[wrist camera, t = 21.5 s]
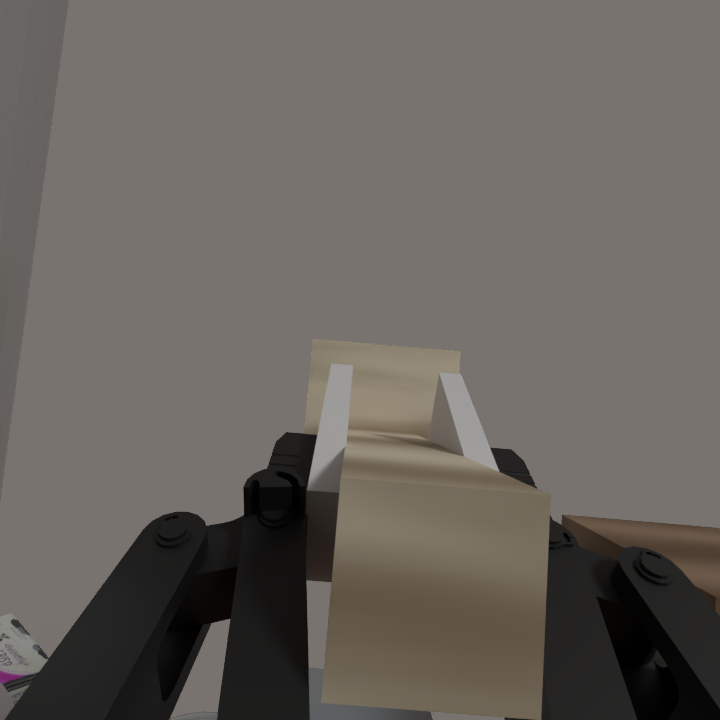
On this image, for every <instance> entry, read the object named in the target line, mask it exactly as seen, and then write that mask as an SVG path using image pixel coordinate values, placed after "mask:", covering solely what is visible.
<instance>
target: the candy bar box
mask: <svg viewBox="0 0 720 720" xmlns="http://www.w3.org/2000/svg"><path fill="white" fill-rule="evenodd" d="M48 659H49V658H48V657H47V655H46V654H45V653H44V652H43V651H42V649H41V648H40V647H39V645H38V644H37V643H36V642H35V641H34V640H33V638H32V637H31V636H30V634H29V633H28V632H27V631H26V630H25V629H24V627H23V626H22V625H21V624H20V623H19V621H18V620H17V619H16V618H15V617H14V615H13V614H12V613H11V614H6V615H2V616H0V683H2V684H3V686H4V687H5V689H6V690H7V692H8V693H9V695H10V697H11V698H12V700H13V703H14V706H15V704H16V703H17V702H18V700H19V699H20V697H21V696H22V695H23V693H24V692H25V691H26V689H27V688H28V686H29V685H30V684H31V682H32V681H33V680H34V678H35V677H36V676H37V674H38V673H39V671H40V670H41V669H42V667H43V666H44V665H45V663H46V662H47V661H48Z"/></svg>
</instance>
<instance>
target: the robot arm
mask: <svg viewBox="0 0 720 720" xmlns="http://www.w3.org/2000/svg"><path fill="white" fill-rule="evenodd" d="M67 8H68V0H0V497H1V490H2V483H3V475H4V468H5V460H6V453H7V446H8V438H9V431H10V424H11V416H12V410H13V402H14V395H15V387H16V380H17V373H18V366H19V358H20V351H21V344H22V336H23V329H24V322H25V315H26V307H27V300H28V293H29V285H30V278H31V270H32V263H33V256H34V249H35V241H36V234H37V227H38V219H39V212H40V205H41V198H42V190H43V183H44V176H45V168H46V161H47V154H48V146H49V138H50V132H51V124H52V117H53V110H54V103H55V95H56V88H57V80H58V73H59V66H60V58H61V52H62V44H63V36H64V29H65V22H66V15H67ZM352 374H353V365H343V364H331V368H330V373H329V378H328V383H327V389H326V394H325V399H324V404H323V409H322V414H321V419H320V425H319V430H318V435H314V434H302V433H288V432H286V433H285V434H284V435H283V436H282V437H281V438H280V439H279V440H277V441H276V443H275V447H274V449H273V452H272V456H271V459H270V462H269V466H268V467H267V469H264V470H261V471H259V472H257V473H254V474H253V475H252V476H251V477H250V478H249V479H247V481H246V483H245V485H244V487H243V488H244V515H243V516H242V517H240V518H238V519H235V520H233V521H230V522H226V523H221V524H215V525H209V526H206V524H205V521H204V520H203V519H202V518H200V517H199V516H198V515H196V514H193V513H190V512H174V513H170V514H166V515H163V516H161V517H159V518H157V519H155V520H153V521H152V522H151V523H150V524H149V525H147V527H145V529H143V531H142V532H141V534H140V535H139V536H138V537H137V539H136V540H135V542H134V543H133V544H132V546H131V547H130V548H129V550H128V551H127V553H126V554H125V555H124V557H123V558H122V559H121V561H120V562H119V563H118V565H117V566H116V568H115V569H114V570H113V572H112V573H111V575H110V576H109V577H108V579H107V580H106V581H105V583H104V584H103V585H102V587H101V588H100V589H99V591H98V592H97V594H96V595H95V596H94V598H93V599H92V600H91V602H90V603H89V605H88V606H87V607H86V609H85V610H84V611H83V613H82V614H81V615H80V617H79V618H78V619H77V621H76V622H75V624H74V625H73V626H72V628H71V629H70V630H69V632H68V633H67V635H66V636H65V637H64V639H63V640H62V642H61V643H60V644H59V646H58V647H57V648H56V650H55V651H54V652H53V654H52V655H51V657H50V658H49V659H48V661H47V662H46V663H45V665H44V666H43V667H42V669H41V670H40V671H39V673H38V674H37V676H36V677H35V678H34V680H33V681H32V682H31V684H30V685H29V686H28V688H27V689H26V691H25V692H24V693H23V695H22V696H21V697H20V699H19V700H18V702H17V703H16V704H15V706H14V703H13V700H12V698H11V697H10V695H9V693H8V692H7V690H6V689H5V687H4V686H3V684H2V683H0V720H169V719H170V717H171V714H172V712H173V710H174V707H175V705H176V703H177V701H178V698H179V696H180V694H181V692H182V689H183V687H184V685H185V682H186V680H187V678H188V675H189V673H190V671H191V669H192V666H193V664H194V662H195V660H196V657H197V655H198V653H199V651H200V648H201V646H202V644H203V641H204V639H205V637H206V635H207V632H208V630H209V628H210V626H211V623H214V622H218V621H222V620H226V619H231V620H230V627H229V634H228V642H227V650H226V656H225V663H224V671H223V679H222V686H221V694H220V700H219V707H218V715H217V720H310V704H309V667H308V627H307V590H306V580H312V581H324V582H332V572H333V560H334V549H335V537H336V526H337V514H338V503H339V491H340V480H341V472H342V465H343V458H344V451H345V447H346V442H347V434H348V422H349V410H350V398H351V386H352ZM428 440H429V441H431V442H433V443H435V444H438V445H440V446H442V447H444V448H447V449H449V450H451V451H453V452H455V453H458V454H460V455H462V456H464V457H467V458H469V459H472V460H474V461H476V462H478V463H481V464H483V465H485V466H487V467H489V468H492V469H494V470H496V471H498V472H501V473H503V474H505V475H507V476H510V477H512V478H514V479H516V480H518V481H521V482H523V483H525V484H527V485H530V486H532V487H534V488H536V489H537V487H536V486H535V483H534V481H533V479H532V477H531V476H530V473H529V471H528V469H527V467H526V465H525V463H524V461H523V460H522V459H521V458H520V457H519V456H518V455H517V454H516V453H515V452H513V451H512V450H510V449H499V448H490V447H489V444H488V442H487V439H486V437H485V434H484V432H483V429H482V426H481V424H480V422H479V419H478V416H477V414H476V411H475V409H474V406H473V404H472V401H471V399H470V396H469V394H468V391H467V389H466V386H465V383H464V381H463V378H462V376H461V374H451V373H439V377H438V383H437V389H436V395H435V401H434V407H433V412H432V418H431V424H430V430H429V436H428ZM657 651H658V652H659V654H660V655H661V657H662V658H663V660H664V661H665V662H664V661H663V660H662V659H661V657H660V655H659V654H658V652H657ZM505 720H533V719H520V718H507V717H505ZM541 720H720V615H719V614H718V613H717V612H716V611H715V609H714V608H713V607H712V606H711V605H710V603H709V602H708V601H707V600H706V599H705V598H704V596H703V595H702V594H701V593H700V592H699V590H698V589H697V588H696V587H695V586H694V584H693V583H692V582H691V581H690V580H689V578H688V577H687V576H686V575H685V574H684V572H683V571H682V570H681V569H680V568H679V567H678V566H677V565H675V564H674V563H673V562H672V561H671V560H669V559H668V558H666V557H664V556H663V555H661V554H660V553H657V552H655V551H652V550H650V549H647V548H642V547H636V546H633V547H627V548H624V549H623V550H622V551H621V552H620V553H619V555H618V557H617V559H615V558H612V557H608V556H605V555H602V554H599V553H596V552H593V551H590V550H587V549H585V548H582V547H580V546H579V544H578V542H577V540H576V538H575V537H574V535H573V534H572V533H571V532H570V531H569V530H568V529H567V528H565V527H564V526H562V525H561V524H559V523H557V522H555V521H553V520H552V518H551V516H550V524H549V548H548V571H547V594H546V618H545V641H544V664H543V688H542V711H541Z"/></svg>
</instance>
